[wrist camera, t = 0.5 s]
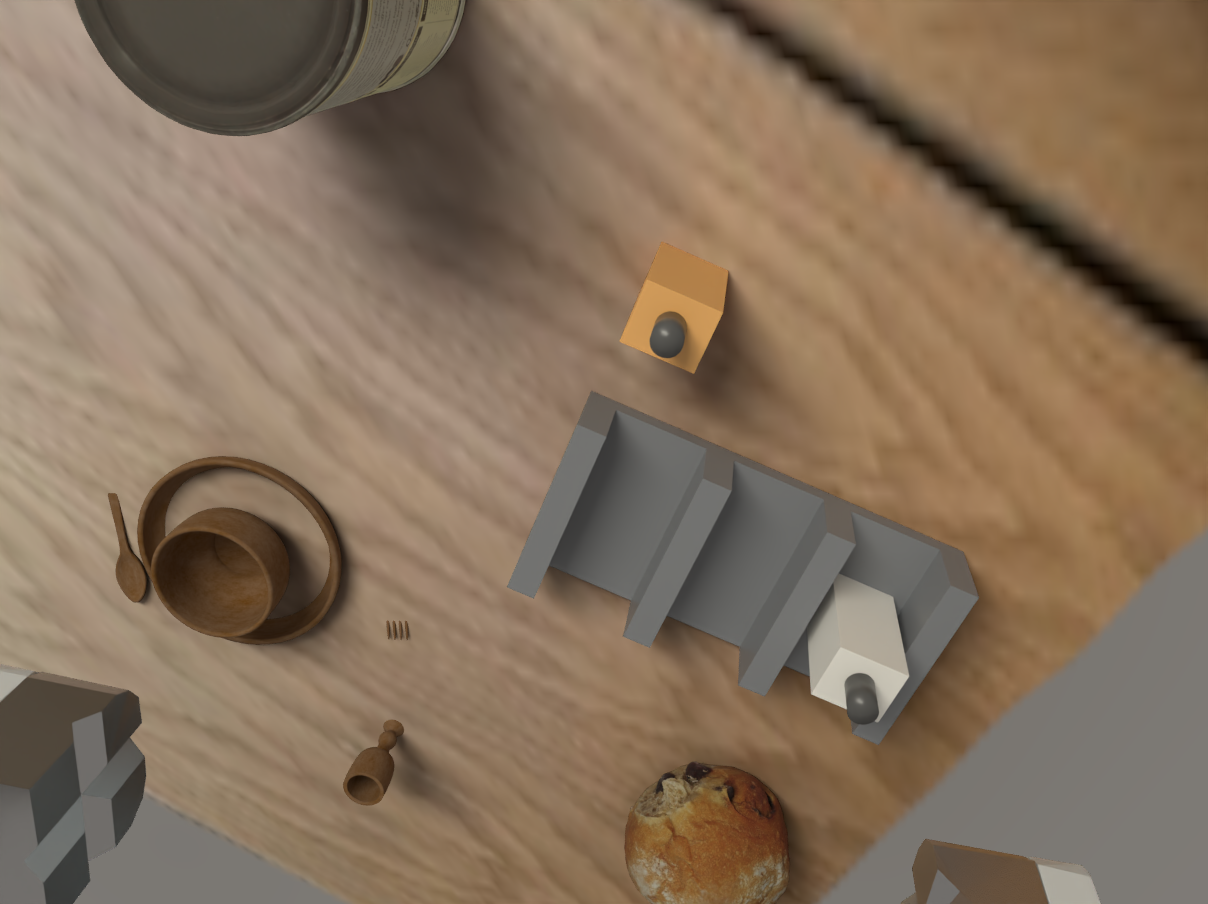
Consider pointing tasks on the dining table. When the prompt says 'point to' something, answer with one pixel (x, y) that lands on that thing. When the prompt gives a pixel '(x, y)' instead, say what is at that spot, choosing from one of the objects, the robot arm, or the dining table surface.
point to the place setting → (238, 584)
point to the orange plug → (677, 308)
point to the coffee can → (266, 54)
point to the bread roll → (707, 839)
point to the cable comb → (732, 548)
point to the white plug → (856, 650)
